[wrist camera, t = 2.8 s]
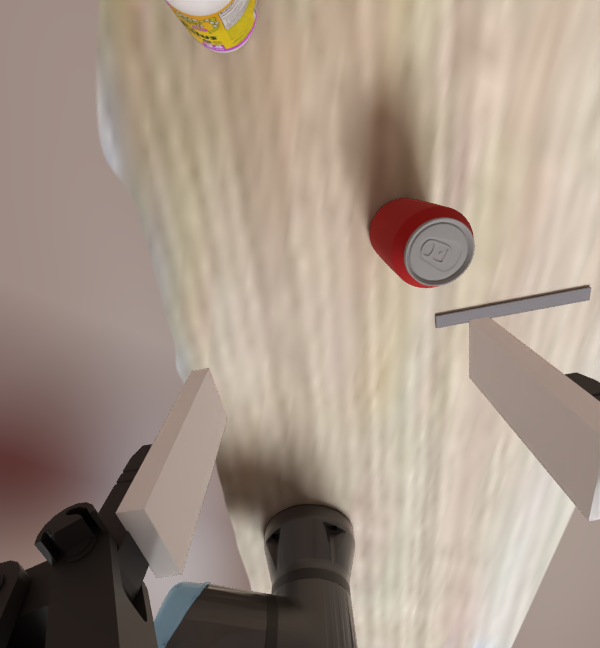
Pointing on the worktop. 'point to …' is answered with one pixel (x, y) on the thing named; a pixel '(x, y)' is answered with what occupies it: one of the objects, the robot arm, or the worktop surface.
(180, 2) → the supplement bottle
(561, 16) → the worktop surface
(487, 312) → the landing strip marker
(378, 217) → the beverage can
